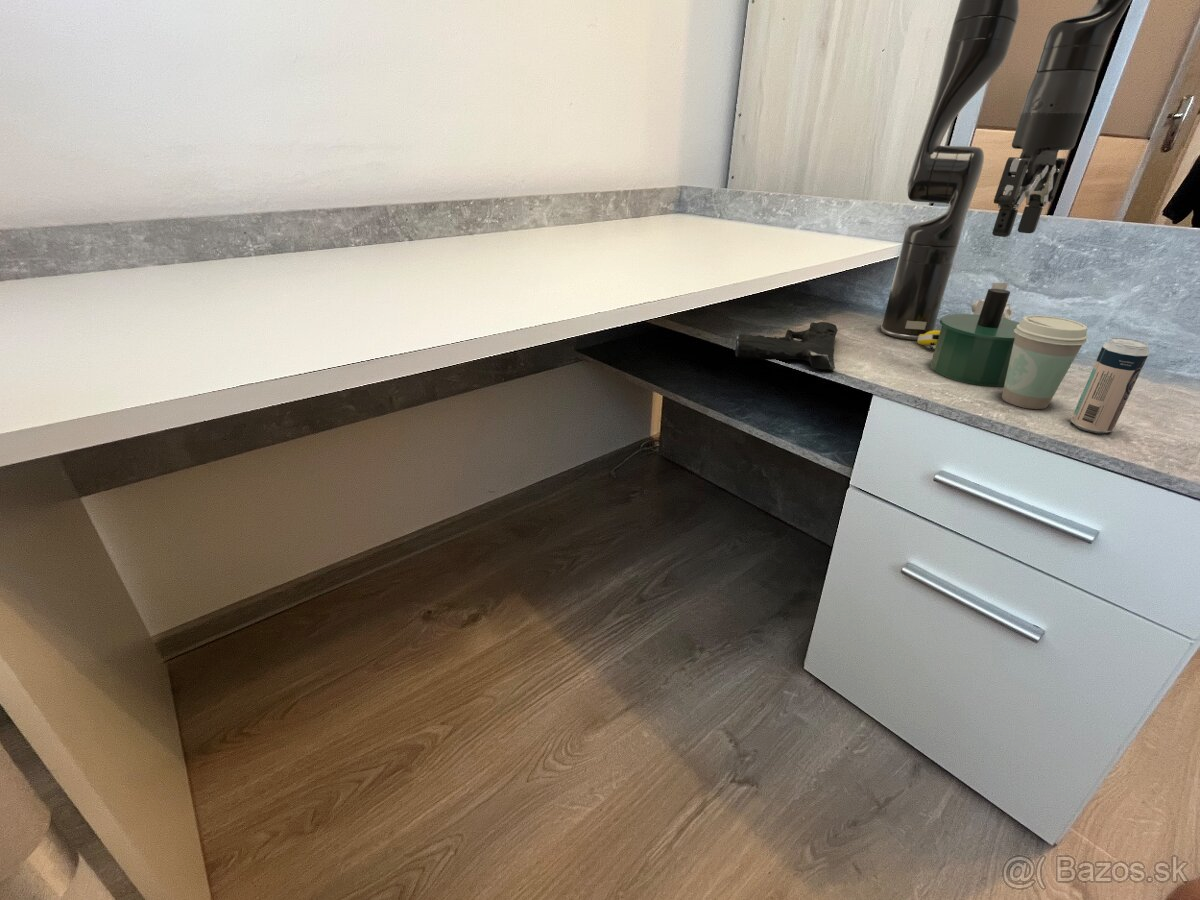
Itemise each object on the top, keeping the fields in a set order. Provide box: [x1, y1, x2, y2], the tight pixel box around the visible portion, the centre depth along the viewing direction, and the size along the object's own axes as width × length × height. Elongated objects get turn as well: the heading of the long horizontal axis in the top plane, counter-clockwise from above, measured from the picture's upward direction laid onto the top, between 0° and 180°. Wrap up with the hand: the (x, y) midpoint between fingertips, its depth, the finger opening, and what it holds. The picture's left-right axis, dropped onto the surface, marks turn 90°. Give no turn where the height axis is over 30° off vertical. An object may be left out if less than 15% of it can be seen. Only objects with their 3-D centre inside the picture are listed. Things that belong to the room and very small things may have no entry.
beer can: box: [1070, 337, 1151, 434], centre depth 79 cm, size 5×5×12 cm
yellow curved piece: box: [916, 329, 941, 350], centre depth 110 cm, size 10×6×4 cm, turn 71°
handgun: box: [734, 321, 838, 370], centre depth 108 cm, size 21×17×4 cm
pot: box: [930, 325, 1014, 387], centre depth 98 cm, size 13×13×8 cm
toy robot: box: [970, 282, 1014, 320], centre depth 110 cm, size 4×8×12 cm, turn 17°
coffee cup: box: [1001, 314, 1088, 410], centre depth 86 cm, size 8×8×12 cm
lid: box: [939, 288, 1020, 341], centre depth 95 cm, size 14×14×7 cm
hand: (1013, 234), depth 90 cm, fingers open, 8 cm apart
